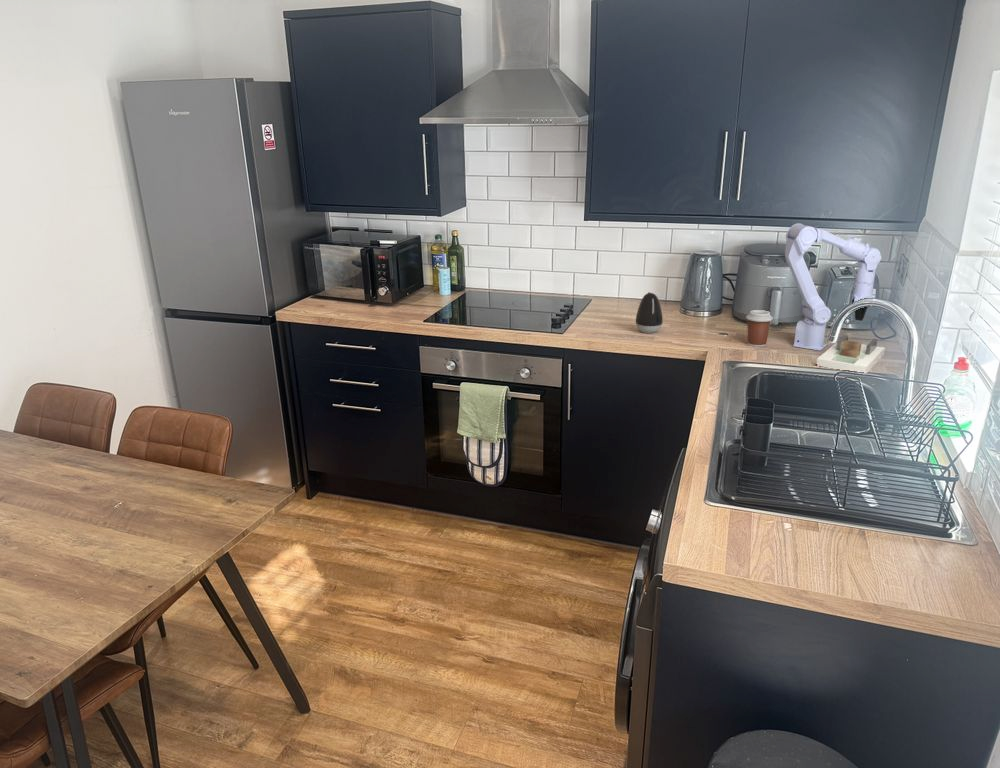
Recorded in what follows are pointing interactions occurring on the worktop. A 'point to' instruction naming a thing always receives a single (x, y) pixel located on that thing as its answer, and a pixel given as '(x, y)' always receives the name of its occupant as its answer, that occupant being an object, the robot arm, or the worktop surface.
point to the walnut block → (850, 349)
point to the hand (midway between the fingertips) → (859, 320)
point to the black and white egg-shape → (649, 314)
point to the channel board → (850, 359)
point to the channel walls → (869, 348)
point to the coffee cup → (758, 327)
